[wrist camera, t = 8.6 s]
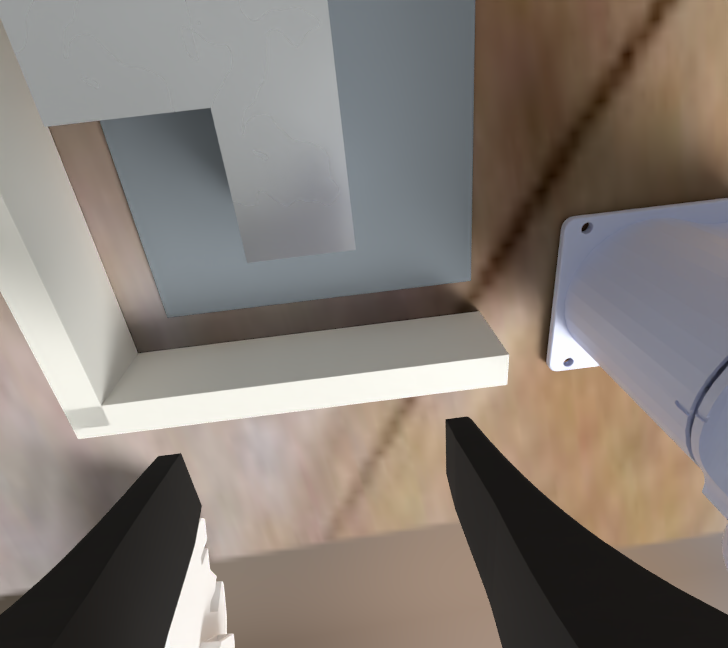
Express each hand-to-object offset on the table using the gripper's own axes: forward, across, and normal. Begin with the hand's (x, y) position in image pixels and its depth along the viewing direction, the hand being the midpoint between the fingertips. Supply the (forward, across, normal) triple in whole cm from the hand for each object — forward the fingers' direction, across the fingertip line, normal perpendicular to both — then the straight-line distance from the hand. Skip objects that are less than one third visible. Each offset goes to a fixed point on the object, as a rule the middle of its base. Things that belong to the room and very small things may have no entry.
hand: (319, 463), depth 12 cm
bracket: (+10, +2, -8) cm, 13 cm away
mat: (+10, 0, -6) cm, 12 cm away
